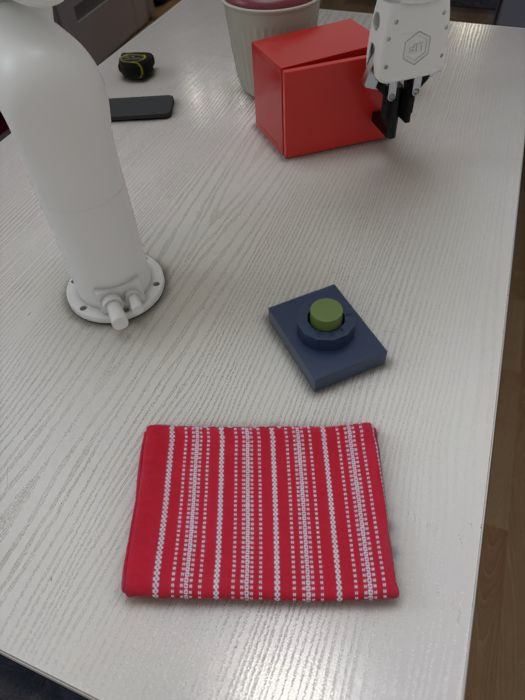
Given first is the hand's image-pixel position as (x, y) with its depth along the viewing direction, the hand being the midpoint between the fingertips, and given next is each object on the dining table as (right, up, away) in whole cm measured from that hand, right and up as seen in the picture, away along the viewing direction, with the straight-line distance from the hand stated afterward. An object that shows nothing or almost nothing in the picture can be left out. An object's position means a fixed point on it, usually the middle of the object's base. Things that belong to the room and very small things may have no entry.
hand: (395, 119), depth 82 cm
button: (-13, -32, -21) cm, 40 cm away
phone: (-44, +10, +20) cm, 50 cm away
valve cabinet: (-11, +4, +13) cm, 17 cm away
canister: (-18, +16, +23) cm, 33 cm away
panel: (-13, -34, -18) cm, 41 cm away
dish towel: (-20, -50, -31) cm, 62 cm away
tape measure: (-46, +22, +30) cm, 59 cm away
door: (-7, -3, +6) cm, 10 cm away
